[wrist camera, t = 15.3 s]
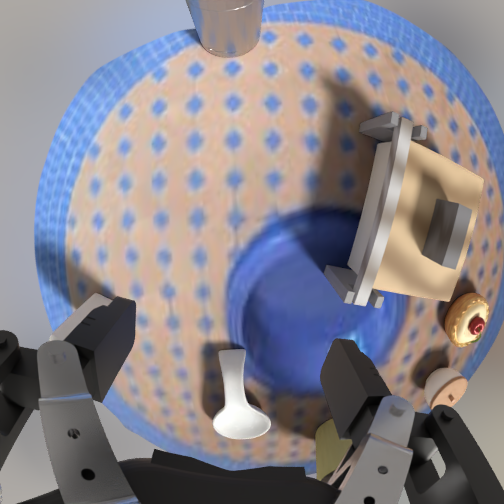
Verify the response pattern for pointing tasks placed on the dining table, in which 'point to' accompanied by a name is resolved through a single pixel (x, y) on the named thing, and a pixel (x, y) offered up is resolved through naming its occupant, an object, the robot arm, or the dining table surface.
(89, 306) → the milk carton
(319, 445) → the potted cactus
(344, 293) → the white open box
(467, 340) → the pastry
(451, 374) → the lidded jar
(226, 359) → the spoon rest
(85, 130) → the dining table surface
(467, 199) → the door
